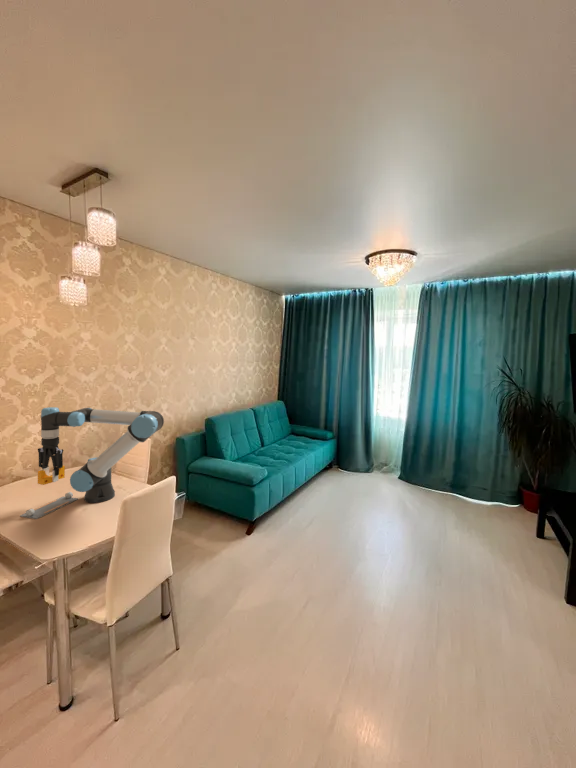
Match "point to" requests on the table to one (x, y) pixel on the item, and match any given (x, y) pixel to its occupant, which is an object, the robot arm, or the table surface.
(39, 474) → the pipe clamp
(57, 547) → the table surface
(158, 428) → the robot arm
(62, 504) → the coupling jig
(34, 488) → the table surface
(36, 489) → the table surface
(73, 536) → the table surface
